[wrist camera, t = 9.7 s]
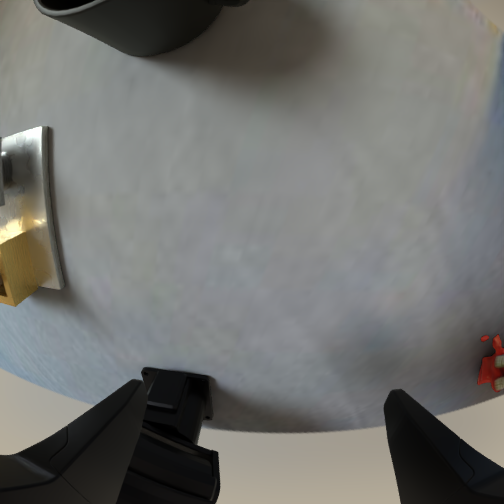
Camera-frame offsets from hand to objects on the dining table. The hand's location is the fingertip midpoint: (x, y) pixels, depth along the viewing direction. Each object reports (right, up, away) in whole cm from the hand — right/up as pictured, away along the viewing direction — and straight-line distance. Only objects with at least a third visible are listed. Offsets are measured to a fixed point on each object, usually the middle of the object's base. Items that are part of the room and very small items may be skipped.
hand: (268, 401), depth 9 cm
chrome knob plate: (-23, +9, +11) cm, 27 cm away
